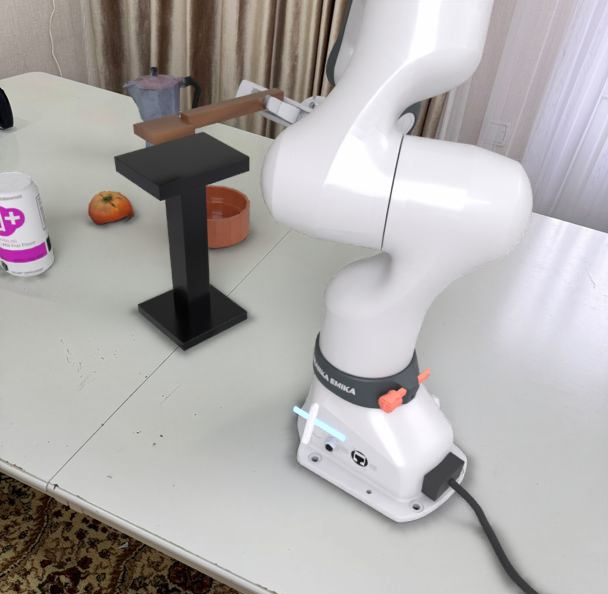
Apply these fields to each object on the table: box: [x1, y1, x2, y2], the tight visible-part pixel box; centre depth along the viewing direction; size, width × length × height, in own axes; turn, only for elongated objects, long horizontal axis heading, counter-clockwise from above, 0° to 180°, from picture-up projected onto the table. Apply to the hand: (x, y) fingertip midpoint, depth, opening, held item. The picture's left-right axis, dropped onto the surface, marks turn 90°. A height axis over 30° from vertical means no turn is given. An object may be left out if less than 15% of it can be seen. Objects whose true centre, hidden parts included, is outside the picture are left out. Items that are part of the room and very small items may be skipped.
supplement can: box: [0, 171, 55, 278], centre depth 99 cm, size 8×8×15 cm
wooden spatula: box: [132, 87, 285, 145], centre depth 80 cm, size 4×22×2 cm, turn 134°
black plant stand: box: [113, 131, 251, 352], centre depth 88 cm, size 12×14×26 cm
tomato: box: [87, 190, 135, 226], centre depth 117 cm, size 8×7×7 cm
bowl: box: [206, 184, 251, 249], centre depth 114 cm, size 13×13×6 cm
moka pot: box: [122, 66, 202, 148], centre depth 130 cm, size 10×15×20 cm, turn 107°
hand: (259, 98), depth 84 cm, fingers closed on wooden spatula, 2 cm apart
